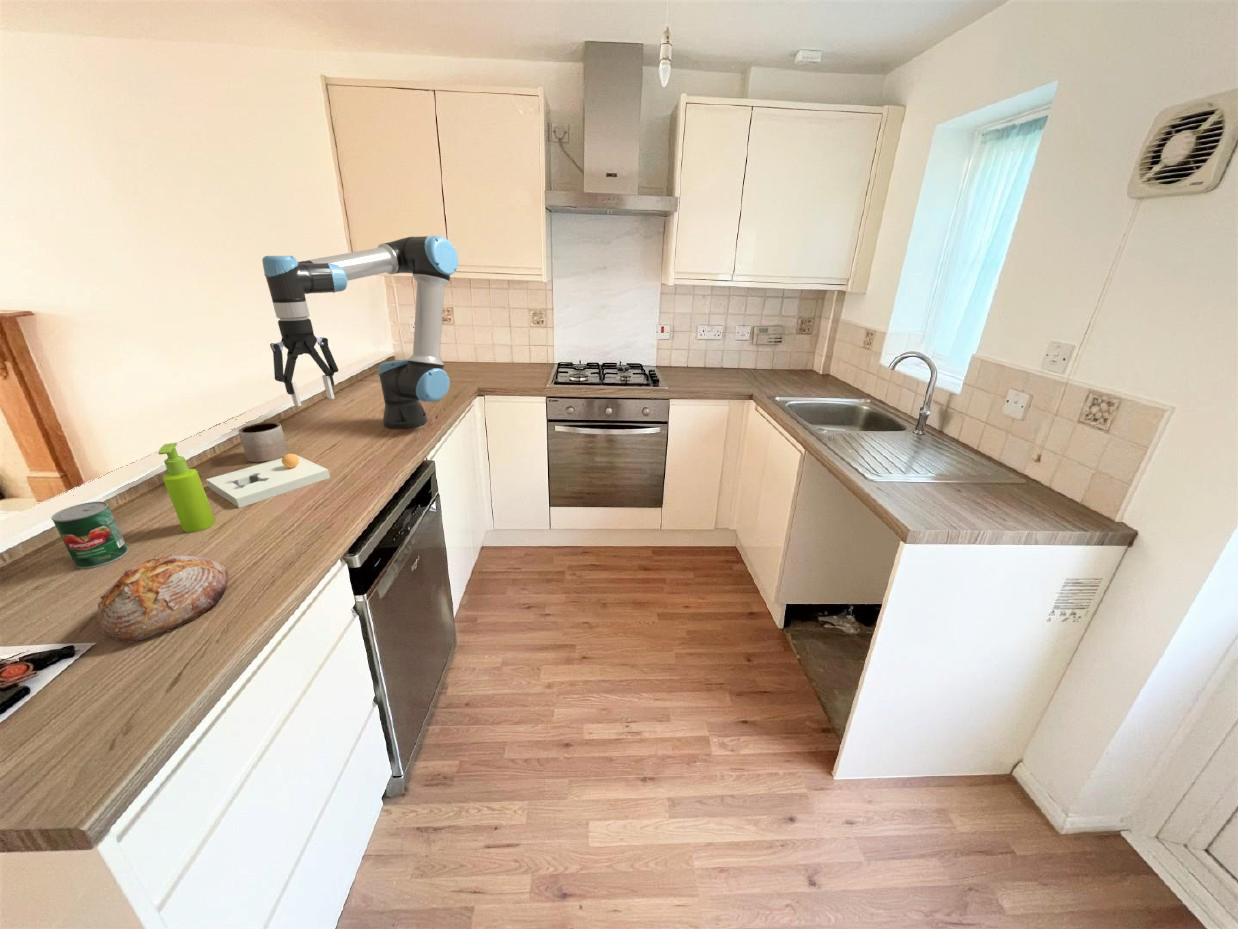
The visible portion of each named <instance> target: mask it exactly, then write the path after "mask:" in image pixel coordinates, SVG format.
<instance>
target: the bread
mask: <svg viewBox="0 0 1238 929" xmlns="http://www.w3.org/2000/svg"><path fill="white" fill-rule="evenodd" d="M228 576H229V571H228V569H227V568H226V567H225V566H224V565H222V564H221V563H219V562H218V561H217V560H215V559H212V558H208V557H205V556H199V555H179V554H170V555H168V556H165V557H161V558H160V557H159V558H157V559H156V558H153V559H148V560H145V561H144V562H142V563H139V564H138V565H136V566H133V567H131V568H130V569H127V570H125V571H124V572H123V573H122V574H121V575H120V577H119V578H118V579H117V580H116V581H115V582H114V584H112V586H111V587H109V589H108V590H107V591H106V592H105V593H103V595H101V596H100V599H101V601H99V602H98V603H97V622H98V623H97V624H98V627H99V629H100V631H101V632H102V633H103V634H104V636H106V637H107V638H111V639H113V640H116V641H118V642H120V643H132V642H138V641H143V640H146V639H148V638H152V637H155V636H159V635H160V634H164V633H165V632H167V631H170V630H173V629H174V628H176V627H179V626H180V625H182V624H185V623H187V622H188V621H192V620H193V619H197V618H198V617H200V616H201V615H203V614H205V613H207V612H209V611H210V610H213V608H215V607H216V606H218V603H219V602H220V600H221V599H222V598H223V596H224V595H225V592H226V590H227V587H228V583H229V581H228Z"/></svg>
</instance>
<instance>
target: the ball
mask: <svg viewBox="0 0 1238 929" xmlns="http://www.w3.org/2000/svg"><path fill="white" fill-rule="evenodd" d="M296 455H297V454H294V453H288V454H286V455H284V456H283V457H282V464H283V465H284V466H285V467H288V468H293V467H295V466H297V465H298V463H299V459H298V457H297V456H298V455H297V456H296Z"/></svg>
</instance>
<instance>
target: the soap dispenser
mask: <svg viewBox="0 0 1238 929" xmlns="http://www.w3.org/2000/svg"><path fill="white" fill-rule="evenodd" d="M177 445H178V444H177V442H171V443H166V444H162V446H161V447H160V448H159V450H158V453H157V454H158V455H167V458H166V459H165V460H164V461H163V462H164V464H165V467H166V470H167V474H166V473H165V475H163V476H162V480H163V483H164V486H165V489H166V491H167V493H168V495H169V498H170V500H171V502H172V503H171V504H172V505H173V508H174V510H175V513H176V515H177V518H178V520H179V523H180V526H181V529H182V530H183V532H186V533H195V532H199V531H204V530H207V529H209V528H211V527H212V526H214V525H215V524H216V523H217V522H216V518H215V516H214V512H213V511H212V507H211V504H210V503H209V500H208V497H207V495H206V494H207V493H206V490H205V489H204V486H203V484H202V481H201V478H200V475H199V472H198V470H197V469H195V468H189V467H188V463H187V460H186V458H185V457H184V456H181V455H179V454H178V452H177V449H176V446H177Z"/></svg>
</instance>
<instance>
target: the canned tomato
mask: <svg viewBox="0 0 1238 929" xmlns="http://www.w3.org/2000/svg"><path fill="white" fill-rule="evenodd" d="M50 518H51V520H52V522H53V523H54V526H55V528H56V529H57V532H58V533H59V535H60V538H61V540H62V542H63V543H64V545H65V547H66V549H67V552H68V554H69V555H70V556H71V558H70V559H72V561H73V562H74V566H75V567H76V568H77V569H84V570H86V569H94V568H98V567H102V566H105V565H108V564H111V563H113V562H116V561H119V560H120V559H122V558H123V557H125V556H126V555H127V554H128V552H129V548H128V547H127V544H126V541H125V540H124V537H123V535H122V533H121V531H120V528H119V527H118V524H117V522H116V519H115V518H114V515H113V513H112V511H111V508H110V507H109V504H108V502H106V501H90V502H85V503H80V504H75V505H72V506H69V507H66V508H64V509H62V510H61V509H60V510H59V511H57V512H55V513H54V514H52V516H51V517H50Z"/></svg>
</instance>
